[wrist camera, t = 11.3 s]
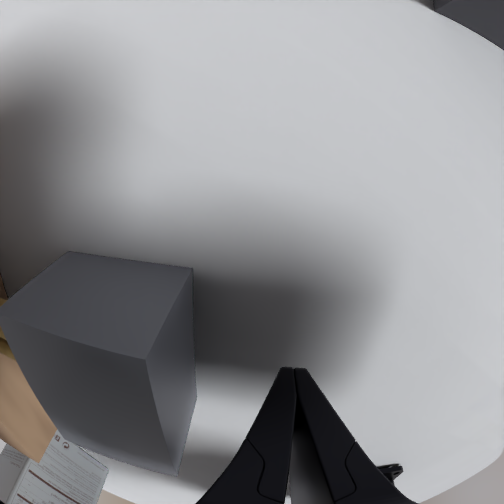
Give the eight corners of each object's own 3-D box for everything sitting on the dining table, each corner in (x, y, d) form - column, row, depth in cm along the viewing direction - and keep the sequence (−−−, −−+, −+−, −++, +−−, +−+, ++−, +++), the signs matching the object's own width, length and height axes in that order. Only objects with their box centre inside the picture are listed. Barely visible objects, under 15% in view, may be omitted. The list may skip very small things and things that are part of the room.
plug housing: (193, 266, 9) (145, 359, 5) (197, 395, 12) (176, 476, 8) (70, 250, 9) (-6, 311, 5) (101, 373, 12) (64, 439, 8)
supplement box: (71, 463, 19) (36, 549, 8) (18, 418, 17) (-30, 508, 5) (112, 470, 18) (76, 578, 6) (49, 420, 15) (-9, 536, 4)
